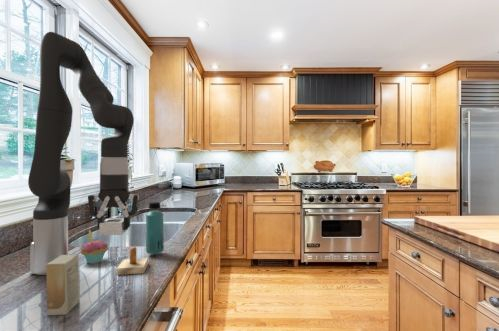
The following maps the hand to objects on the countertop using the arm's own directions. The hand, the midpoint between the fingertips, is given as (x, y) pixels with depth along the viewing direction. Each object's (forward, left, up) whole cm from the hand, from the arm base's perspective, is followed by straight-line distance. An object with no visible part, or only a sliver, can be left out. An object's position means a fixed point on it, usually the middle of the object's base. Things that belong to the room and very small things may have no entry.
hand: (114, 229), depth 83 cm
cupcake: (-12, +19, -16) cm, 27 cm away
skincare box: (-8, -14, -16) cm, 22 cm away
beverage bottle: (+8, +22, -16) cm, 28 cm away
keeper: (+3, +9, -15) cm, 18 cm away
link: (0, 0, -1) cm, 1 cm away
